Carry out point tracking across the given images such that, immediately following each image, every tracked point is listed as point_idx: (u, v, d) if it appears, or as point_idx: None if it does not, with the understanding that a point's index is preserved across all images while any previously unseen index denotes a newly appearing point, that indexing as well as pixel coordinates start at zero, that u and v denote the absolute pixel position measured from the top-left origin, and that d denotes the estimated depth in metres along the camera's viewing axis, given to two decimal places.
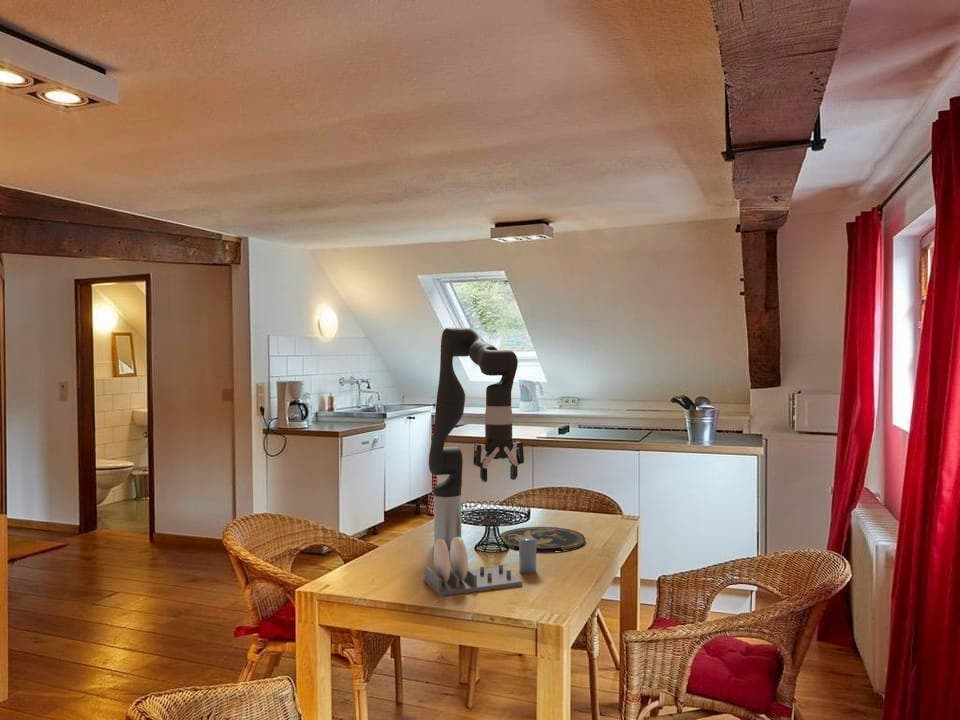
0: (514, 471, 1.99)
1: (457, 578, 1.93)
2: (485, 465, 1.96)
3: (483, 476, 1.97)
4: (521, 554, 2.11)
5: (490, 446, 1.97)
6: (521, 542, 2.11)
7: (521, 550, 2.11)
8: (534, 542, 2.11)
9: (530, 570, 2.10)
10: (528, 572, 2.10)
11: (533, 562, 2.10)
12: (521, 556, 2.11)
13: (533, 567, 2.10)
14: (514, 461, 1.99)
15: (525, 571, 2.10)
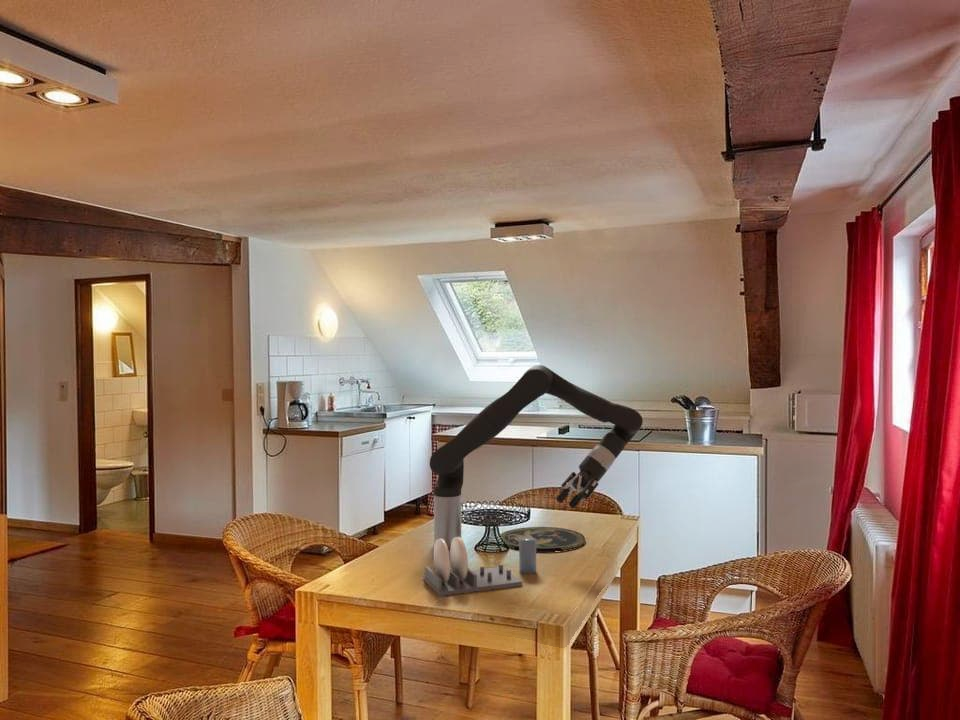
0: None
1: (457, 578, 1.93)
2: None
3: None
4: (521, 554, 2.11)
5: None
6: (521, 542, 2.11)
7: (521, 550, 2.11)
8: (534, 542, 2.11)
9: (530, 570, 2.10)
10: (528, 572, 2.10)
11: (533, 562, 2.10)
12: (521, 556, 2.11)
13: (533, 567, 2.10)
14: None
15: (525, 571, 2.10)
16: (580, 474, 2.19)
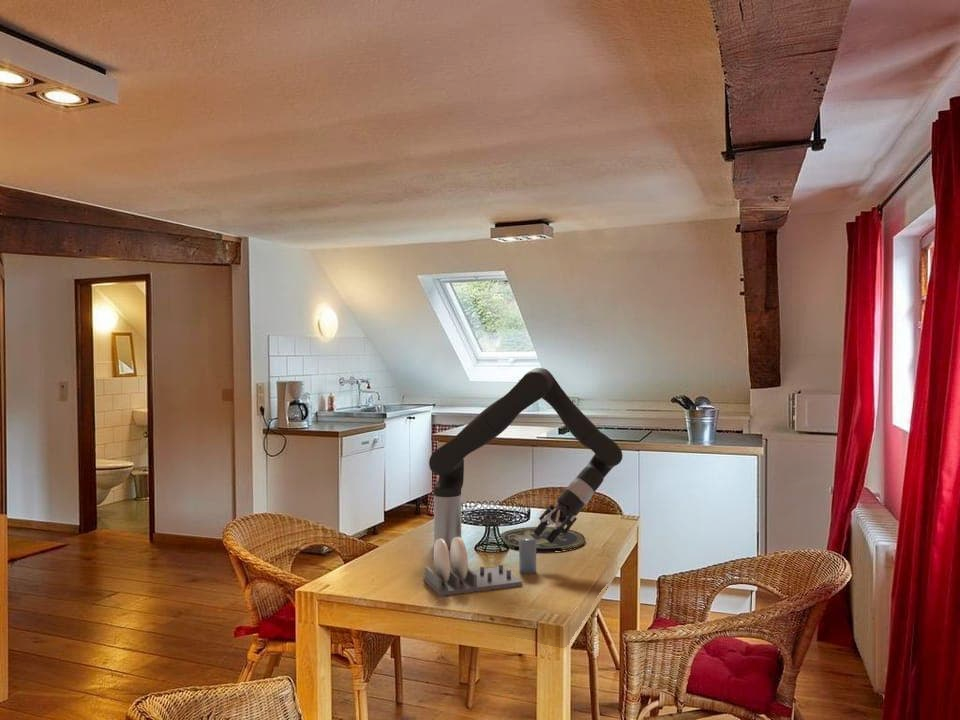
0: None
1: (457, 578, 1.93)
2: None
3: None
4: (521, 554, 2.11)
5: None
6: (521, 542, 2.11)
7: (521, 550, 2.11)
8: (534, 542, 2.10)
9: (530, 570, 2.10)
10: (528, 572, 2.10)
11: (533, 562, 2.10)
12: (521, 556, 2.11)
13: (533, 567, 2.10)
14: None
15: (525, 571, 2.10)
16: (558, 507, 2.18)
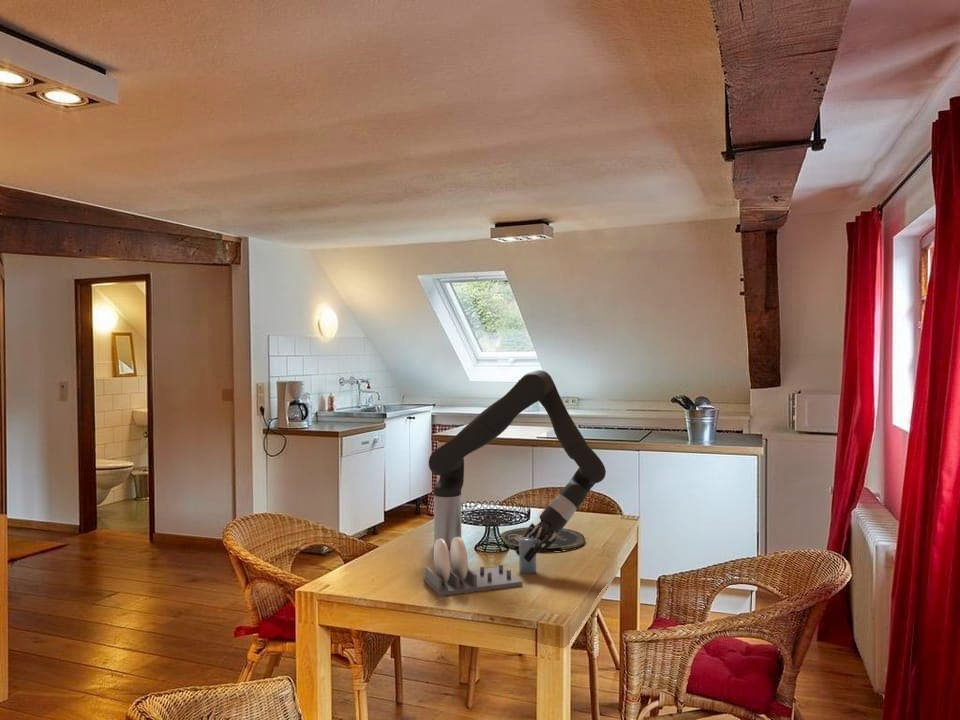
0: None
1: (457, 578, 1.93)
2: None
3: None
4: (521, 554, 2.11)
5: None
6: (521, 542, 2.11)
7: (521, 550, 2.11)
8: None
9: (530, 569, 2.10)
10: (528, 572, 2.10)
11: (533, 562, 2.10)
12: (521, 556, 2.11)
13: (533, 567, 2.10)
14: None
15: (525, 571, 2.10)
16: (540, 524, 2.15)
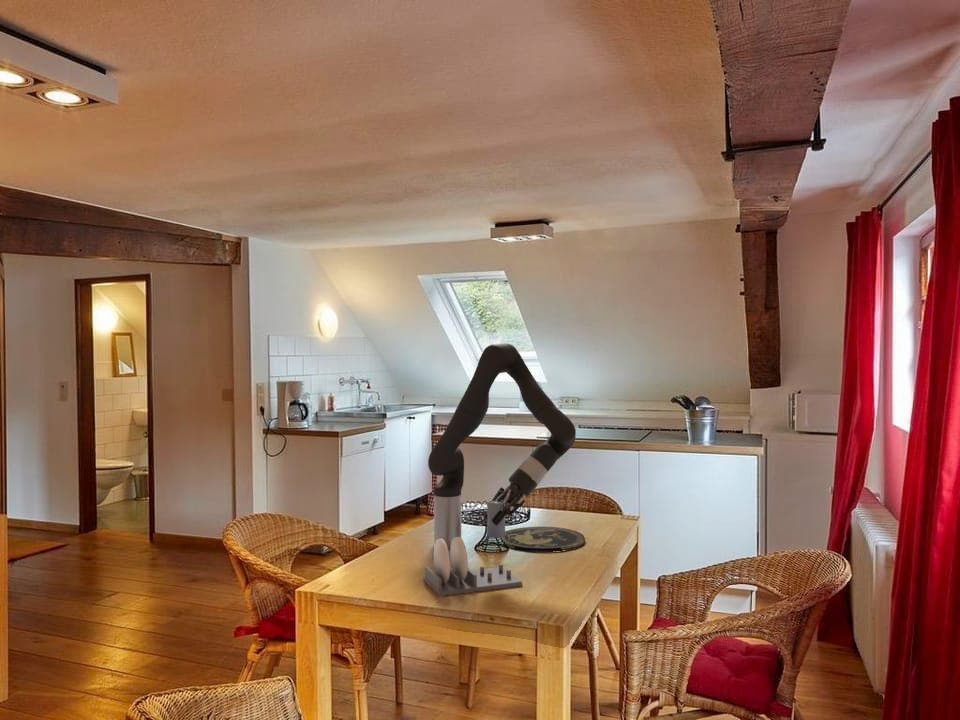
0: None
1: (457, 578, 1.93)
2: None
3: None
4: (489, 517, 2.03)
5: None
6: (489, 505, 2.03)
7: (489, 513, 2.03)
8: (502, 505, 2.03)
9: (498, 533, 2.02)
10: (496, 536, 2.02)
11: (501, 526, 2.02)
12: (489, 520, 2.03)
13: (501, 531, 2.02)
14: None
15: (493, 535, 2.02)
16: (510, 487, 2.08)
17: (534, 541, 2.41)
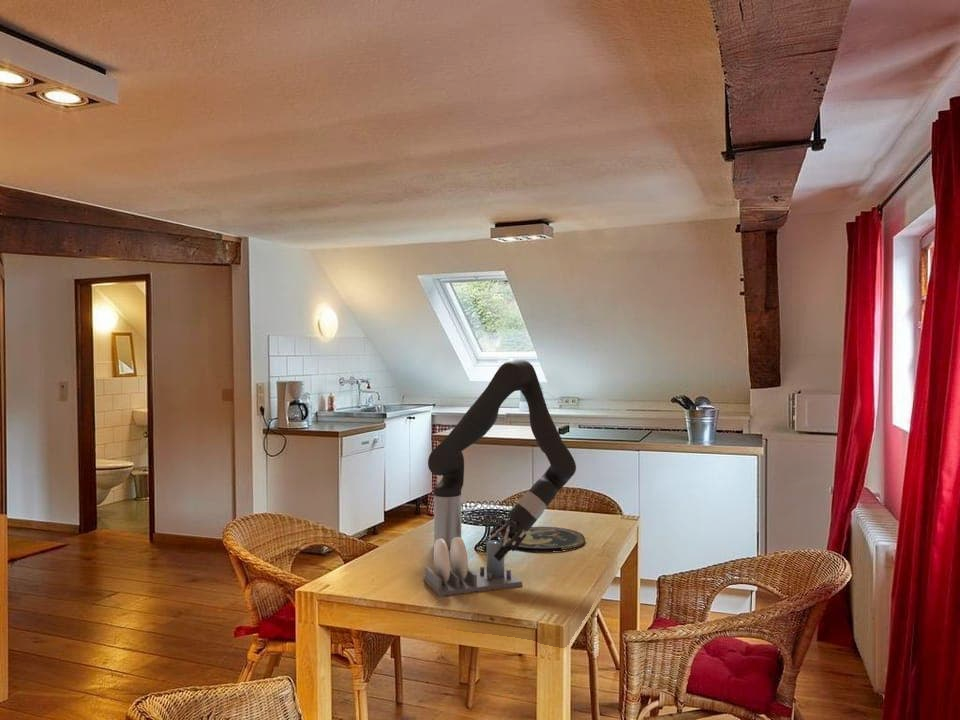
0: None
1: (457, 578, 1.93)
2: None
3: None
4: (488, 558, 2.03)
5: None
6: (488, 545, 2.03)
7: (488, 553, 2.03)
8: (502, 545, 2.03)
9: (497, 574, 2.02)
10: (495, 576, 2.02)
11: (501, 566, 2.02)
12: (488, 560, 2.03)
13: (501, 571, 2.02)
14: None
15: (492, 576, 2.02)
16: (509, 523, 2.07)
17: (534, 541, 2.41)
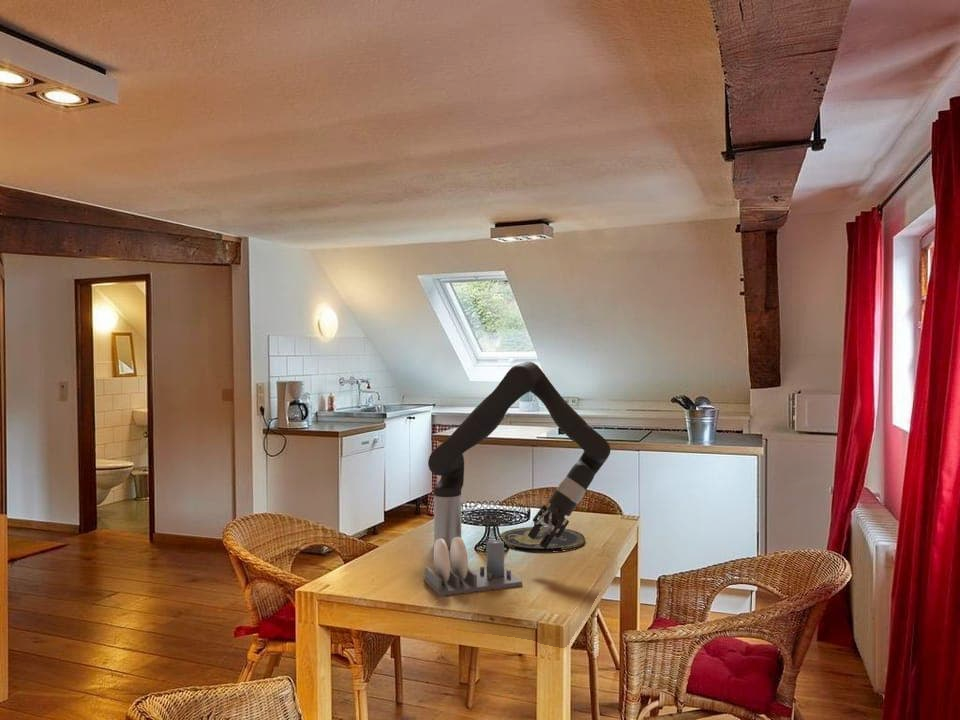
0: None
1: (457, 578, 1.93)
2: None
3: None
4: (488, 558, 2.03)
5: None
6: (488, 545, 2.03)
7: (488, 553, 2.03)
8: (502, 545, 2.03)
9: (497, 574, 2.02)
10: (495, 576, 2.02)
11: (501, 566, 2.02)
12: (488, 560, 2.03)
13: (501, 571, 2.02)
14: None
15: (492, 576, 2.02)
16: (550, 509, 2.13)
17: (534, 541, 2.41)
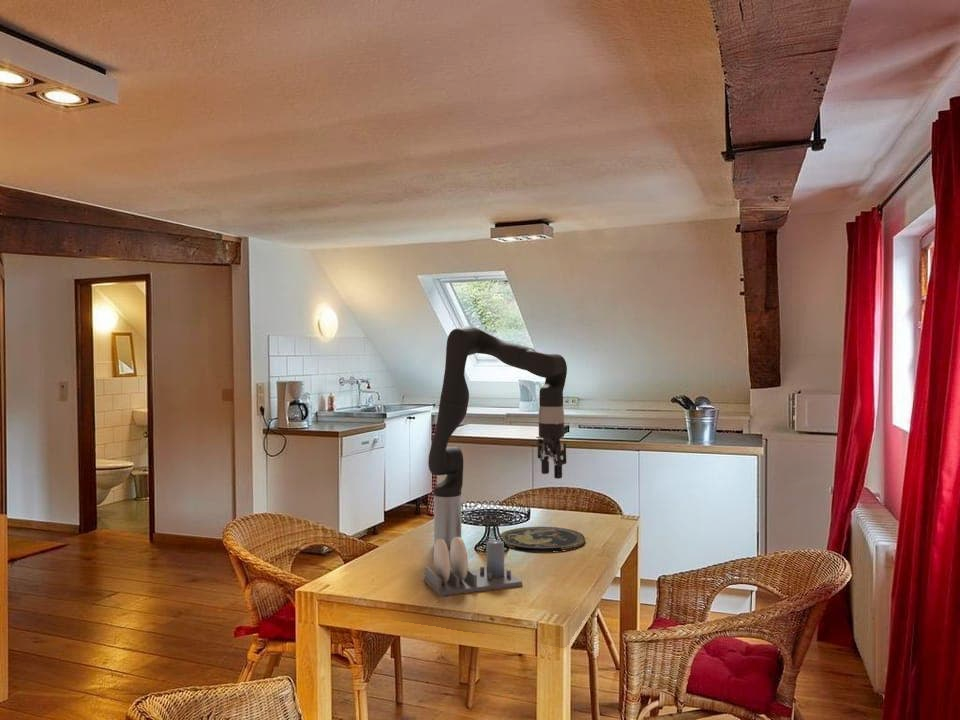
0: None
1: (457, 578, 1.93)
2: None
3: None
4: (488, 558, 2.03)
5: None
6: (488, 545, 2.03)
7: (488, 553, 2.03)
8: (502, 545, 2.03)
9: (497, 574, 2.02)
10: (495, 576, 2.02)
11: (501, 566, 2.02)
12: (488, 560, 2.03)
13: (501, 571, 2.02)
14: None
15: (492, 576, 2.02)
16: (545, 440, 2.14)
17: (534, 541, 2.41)
